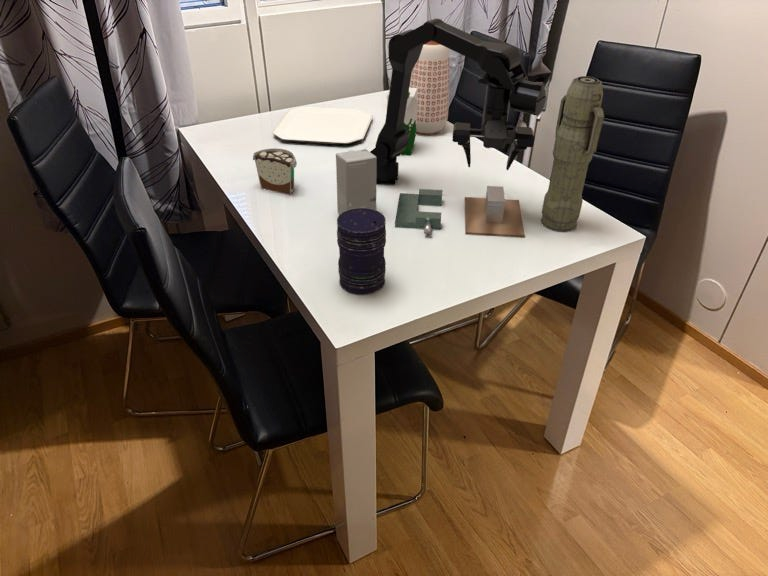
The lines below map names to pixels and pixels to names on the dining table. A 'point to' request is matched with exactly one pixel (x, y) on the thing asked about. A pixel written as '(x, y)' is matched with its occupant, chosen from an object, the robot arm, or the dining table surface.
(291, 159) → the food container
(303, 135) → the plate
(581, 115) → the thermos
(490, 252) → the dining table surface
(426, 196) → the green base
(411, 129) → the milk carton
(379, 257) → the storage jar
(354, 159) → the skincare box
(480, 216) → the walnut mat
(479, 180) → the dining table surface
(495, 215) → the steel bar
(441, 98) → the planter
